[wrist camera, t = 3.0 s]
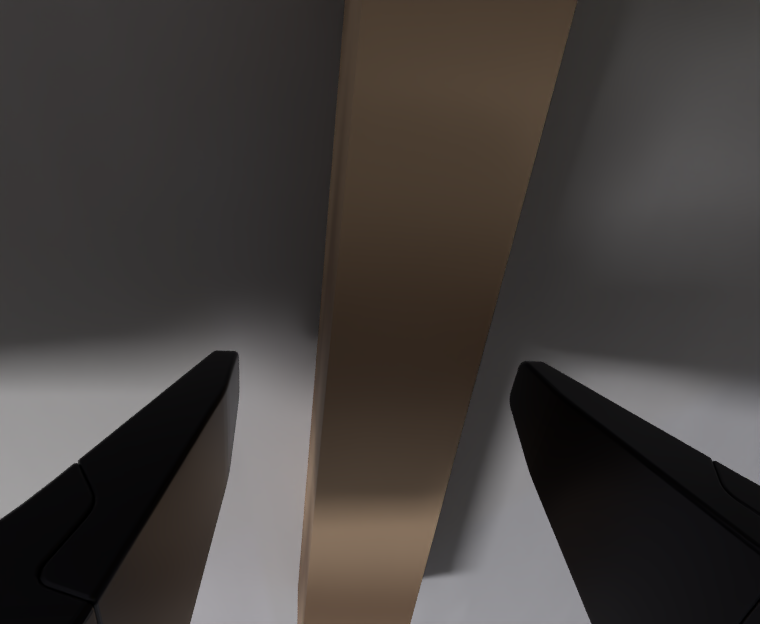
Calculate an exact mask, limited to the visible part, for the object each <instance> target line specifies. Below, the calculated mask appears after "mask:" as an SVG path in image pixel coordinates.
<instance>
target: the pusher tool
mask: <svg viewBox="0 0 760 624" xmlns="http://www.w3.org/2000/svg"><path fill="white" fill-rule="evenodd" d="M577 1H578V0H345V5H344V18H343V30H342V43H341V55H340V68H339V80H338V93H337V105H336V118H335V131H334V143H333V156H332V168H331V181H330V193H329V206H328V218H327V231H326V243H325V256H324V268H323V281H322V294H321V306H320V319H319V331H318V344H317V356H316V369H315V381H314V394H313V406H312V419H311V431H310V444H309V457H308V469H307V482H306V494H305V507H304V519H303V532H302V544H301V557H300V569H299V582H298V623H297V624H410V622H411V619H412V615H413V611H414V608H415V604H416V600H417V596H418V593H419V589H420V585H421V582H422V578H423V574H424V570H425V567H426V563H427V559H428V556H429V552H430V548H431V544H432V541H433V537H434V533H435V529H436V526H437V522H438V518H439V515H440V511H441V507H442V503H443V500H444V496H445V492H446V489H447V485H448V481H449V477H450V474H451V470H452V466H453V462H454V459H455V455H456V451H457V448H458V444H459V440H460V436H461V433H462V429H463V425H464V422H465V418H466V414H467V410H468V407H469V403H470V399H471V395H472V392H473V388H474V384H475V381H476V377H477V373H478V369H479V366H480V362H481V358H482V355H483V351H484V347H485V343H486V340H487V336H488V332H489V329H490V325H491V321H492V317H493V314H494V310H495V306H496V302H497V299H498V295H499V291H500V288H501V284H502V280H503V276H504V273H505V269H506V265H507V262H508V258H509V254H510V250H511V247H512V243H513V239H514V235H515V232H516V228H517V224H518V221H519V217H520V213H521V209H522V206H523V202H524V198H525V195H526V191H527V187H528V183H529V180H530V176H531V172H532V168H533V165H534V161H535V157H536V154H537V150H538V146H539V142H540V139H541V135H542V131H543V128H544V124H545V120H546V116H547V113H548V109H549V105H550V102H551V98H552V94H553V90H554V87H555V83H556V79H557V75H558V72H559V68H560V64H561V61H562V57H563V53H564V49H565V46H566V42H567V38H568V35H569V31H570V27H571V23H572V20H573V16H574V12H575V8H576V5H577Z"/></svg>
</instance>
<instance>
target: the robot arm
mask: <svg viewBox="0 0 760 624" xmlns="http://www.w3.org/2000/svg"><path fill="white" fill-rule="evenodd" d="M238 402H239V355H238V353H237V352H236V351H218V350H217V351H214V352H212V353H211V354H210V355H208V356H207V357H206V358H205V359H203V360H202V361H201V362H200V363H198V364H197V365H196V366H195V367H193V368H192V369H191V370H190V371H188V372H187V373H186V374H185V375H183V376H182V377H181V378H180V379H179V380H177V381H176V382H175V383H174V384H172V385H171V386H170V387H169V388H167V389H166V390H165V391H164V392H162V393H161V394H160V395H159V396H157V397H156V398H155V399H154V400H152V401H151V402H150V403H149V404H147V405H146V406H145V407H144V408H142V409H141V410H140V411H139V412H138V413H136V414H135V415H134V416H133V417H131V418H130V419H129V420H128V421H126V422H125V423H124V424H123V425H121V426H120V427H119V428H118V429H116V430H115V431H114V432H113V433H111V434H110V435H109V436H108V437H106V438H105V439H104V440H103V441H101V442H100V443H99V444H98V445H97V446H95V447H94V448H93V449H92V450H90V451H89V452H88V453H87V454H85V455H84V456H83V457H82V458H80V459H79V460H78V464H77V463H74V464H73V465H71V466H70V467H69V468H68V469H66V470H65V471H64V472H63V473H61V474H60V475H59V476H58V477H56V478H55V479H54V480H53V481H51V482H50V483H49V484H47V485H46V486H45V487H44V488H42V489H41V490H40V491H38V492H37V493H36V494H34V495H33V496H32V497H30V498H29V499H28V500H27V501H25V502H24V503H23V504H21V505H20V506H19V507H17V508H16V509H14V510H13V511H12V512H10V513H9V514H7V515H6V516H4V517H3V518H2V519H0V624H190V622H191V618H192V614H193V610H194V606H195V603H196V599H197V595H198V591H199V587H200V584H201V580H202V576H203V572H204V569H205V565H206V561H207V557H208V553H209V550H210V546H211V542H212V538H213V534H214V531H215V527H216V523H217V519H218V516H219V512H220V508H221V504H222V500H223V497H224V493H225V489H226V485H227V480H228V476H229V471H230V464H231V457H232V449H233V441H234V433H235V426H236V418H237V410H238ZM510 407H511V411H512V414H513V418H514V421H515V425H516V428H517V432H518V435H519V439H520V442H521V446H522V449H523V453H524V456H525V460H526V463H527V466H528V469H529V472H530V475H531V478H532V480H533V483H534V485H535V488H536V490H537V493H538V495H539V498H540V500H541V502H542V505H543V507H544V510H545V512H546V515H547V517H548V519H549V522H550V524H551V527H552V529H553V532H554V534H555V536H556V539H557V541H558V544H559V546H560V549H561V551H562V553H563V556H564V558H565V561H566V563H567V566H568V568H569V570H570V573H571V575H572V578H573V580H574V583H575V585H576V587H577V590H578V592H579V595H580V597H581V600H582V602H583V604H584V607H585V609H586V612H587V614H588V617H589V619H590V622H591V624H760V486H759V485H758V484H756V483H754V482H752V481H750V480H749V479H747V478H745V477H743V476H741V475H740V474H738V473H736V472H734V471H733V470H731V469H729V468H727V467H726V466H724V465H722V464H720V463H719V462H717V461H712V459H711V458H710V457H708V456H706V455H705V454H703V453H701V452H699V451H698V450H696V449H694V448H692V447H691V446H689V445H687V444H685V443H684V442H682V441H680V440H678V439H677V438H675V437H673V436H671V435H670V434H668V433H666V432H664V431H663V430H661V429H659V428H657V427H656V426H654V425H652V424H650V423H649V422H647V421H645V420H643V419H642V418H640V417H638V416H636V415H635V414H633V413H631V412H629V411H628V410H626V409H624V408H622V407H621V406H619V405H617V404H616V403H614V402H612V401H610V400H609V399H607V398H605V397H603V396H602V395H600V394H598V393H596V392H595V391H593V390H591V389H589V388H588V387H586V386H584V385H582V384H581V383H579V382H577V381H575V380H574V379H572V378H570V377H568V376H567V375H565V374H563V373H561V372H560V371H558V370H556V369H554V368H553V367H551V366H549V365H547V364H546V363H544V362H536V361H524V362H523V363H521V364H520V366H519V368H518V371H517V374H516V377H515V381H514V384H513V387H512V390H511V393H510Z"/></svg>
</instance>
